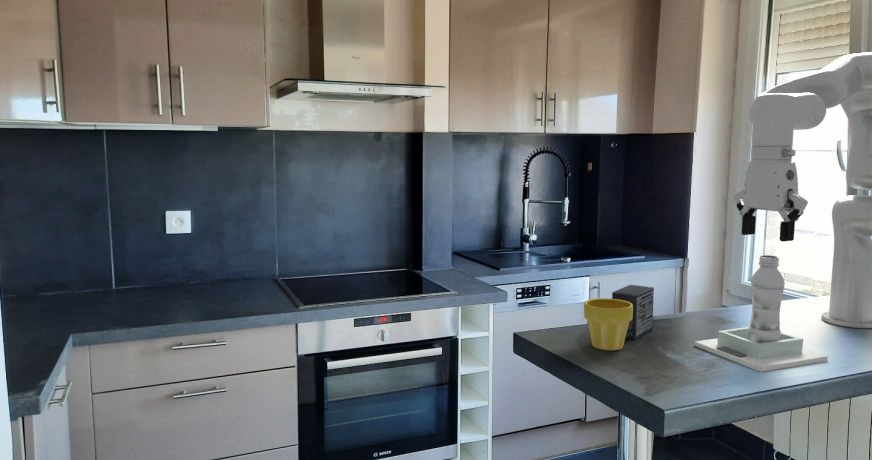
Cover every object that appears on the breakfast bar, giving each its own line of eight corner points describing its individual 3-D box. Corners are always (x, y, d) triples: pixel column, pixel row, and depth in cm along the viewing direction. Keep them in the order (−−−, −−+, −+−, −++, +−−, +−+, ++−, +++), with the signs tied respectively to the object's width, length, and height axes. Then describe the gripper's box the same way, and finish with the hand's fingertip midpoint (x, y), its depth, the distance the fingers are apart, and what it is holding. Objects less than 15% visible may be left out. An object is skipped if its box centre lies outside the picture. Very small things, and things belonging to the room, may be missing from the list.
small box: (627, 325, 162) (629, 283, 161) (653, 329, 158) (655, 287, 157) (609, 334, 154) (610, 290, 153) (636, 340, 150) (637, 295, 149)
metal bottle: (781, 347, 141) (787, 255, 138) (779, 356, 135) (786, 260, 132) (748, 343, 144) (753, 253, 141) (745, 351, 138) (750, 257, 135)
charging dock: (756, 337, 152) (757, 320, 151) (827, 360, 135) (828, 341, 135) (694, 345, 145) (695, 328, 145) (761, 371, 129) (762, 352, 128)
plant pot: (587, 337, 152) (588, 295, 151) (633, 342, 148) (635, 299, 147) (579, 350, 143) (580, 306, 141) (628, 355, 139) (630, 310, 137)
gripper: (822, 155, 128) (816, 242, 131) (751, 153, 144) (747, 231, 147) (794, 156, 126) (788, 245, 128) (724, 154, 142) (721, 233, 144)
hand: (766, 237), depth 137 cm, fingers open, 9 cm apart
